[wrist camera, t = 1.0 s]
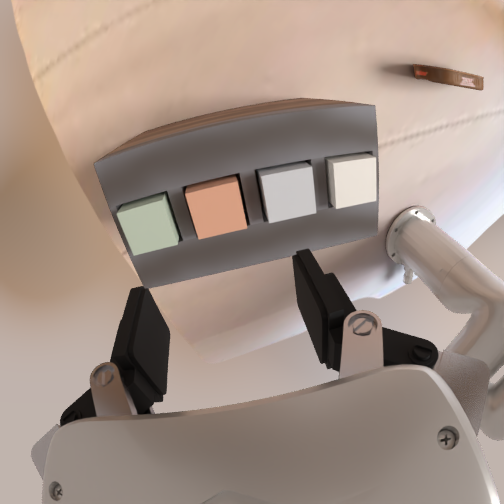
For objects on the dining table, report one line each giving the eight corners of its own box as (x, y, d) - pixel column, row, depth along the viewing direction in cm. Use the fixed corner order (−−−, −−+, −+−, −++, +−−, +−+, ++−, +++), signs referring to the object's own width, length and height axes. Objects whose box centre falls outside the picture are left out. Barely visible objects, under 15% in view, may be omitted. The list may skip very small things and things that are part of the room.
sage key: (180, 230, 23) (177, 244, 21) (139, 241, 23) (133, 255, 21) (166, 189, 21) (162, 200, 19) (124, 202, 21) (116, 213, 19)
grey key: (307, 202, 24) (316, 213, 22) (263, 211, 24) (269, 223, 22) (302, 159, 22) (311, 166, 20) (255, 168, 22) (261, 176, 20)
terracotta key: (243, 215, 24) (247, 228, 22) (199, 225, 23) (198, 239, 21) (234, 172, 22) (237, 181, 19) (187, 183, 21) (185, 194, 19)
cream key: (363, 191, 24) (376, 200, 22) (325, 198, 24) (336, 208, 22) (361, 150, 22) (375, 157, 20) (321, 156, 22) (333, 163, 20)
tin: (459, 71, 33) (491, 76, 25) (461, 87, 34) (493, 93, 27) (402, 62, 32) (436, 62, 25) (404, 80, 34) (439, 83, 27)
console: (312, 176, 41) (377, 235, 25) (168, 208, 40) (145, 289, 24) (302, 98, 35) (375, 105, 18) (145, 131, 34) (93, 163, 18)
